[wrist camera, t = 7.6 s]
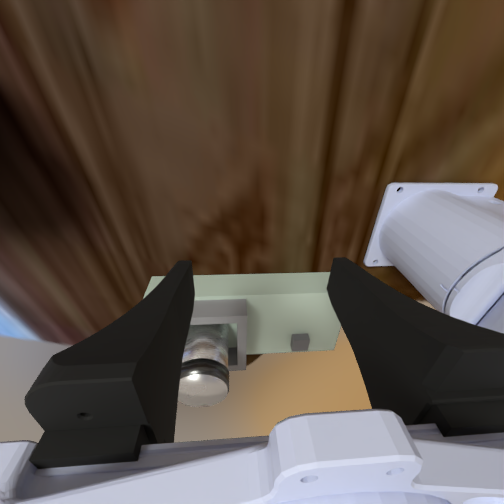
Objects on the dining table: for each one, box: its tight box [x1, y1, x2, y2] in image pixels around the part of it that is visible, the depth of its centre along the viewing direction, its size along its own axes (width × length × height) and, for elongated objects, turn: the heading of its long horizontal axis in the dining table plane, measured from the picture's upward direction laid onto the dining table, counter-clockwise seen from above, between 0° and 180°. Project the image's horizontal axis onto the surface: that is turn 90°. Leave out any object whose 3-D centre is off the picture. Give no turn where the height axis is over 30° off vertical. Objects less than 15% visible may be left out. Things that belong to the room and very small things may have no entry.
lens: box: [178, 324, 229, 407], centre depth 21 cm, size 4×4×6 cm
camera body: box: [143, 272, 341, 371], centre depth 25 cm, size 18×8×5 cm, turn 88°
